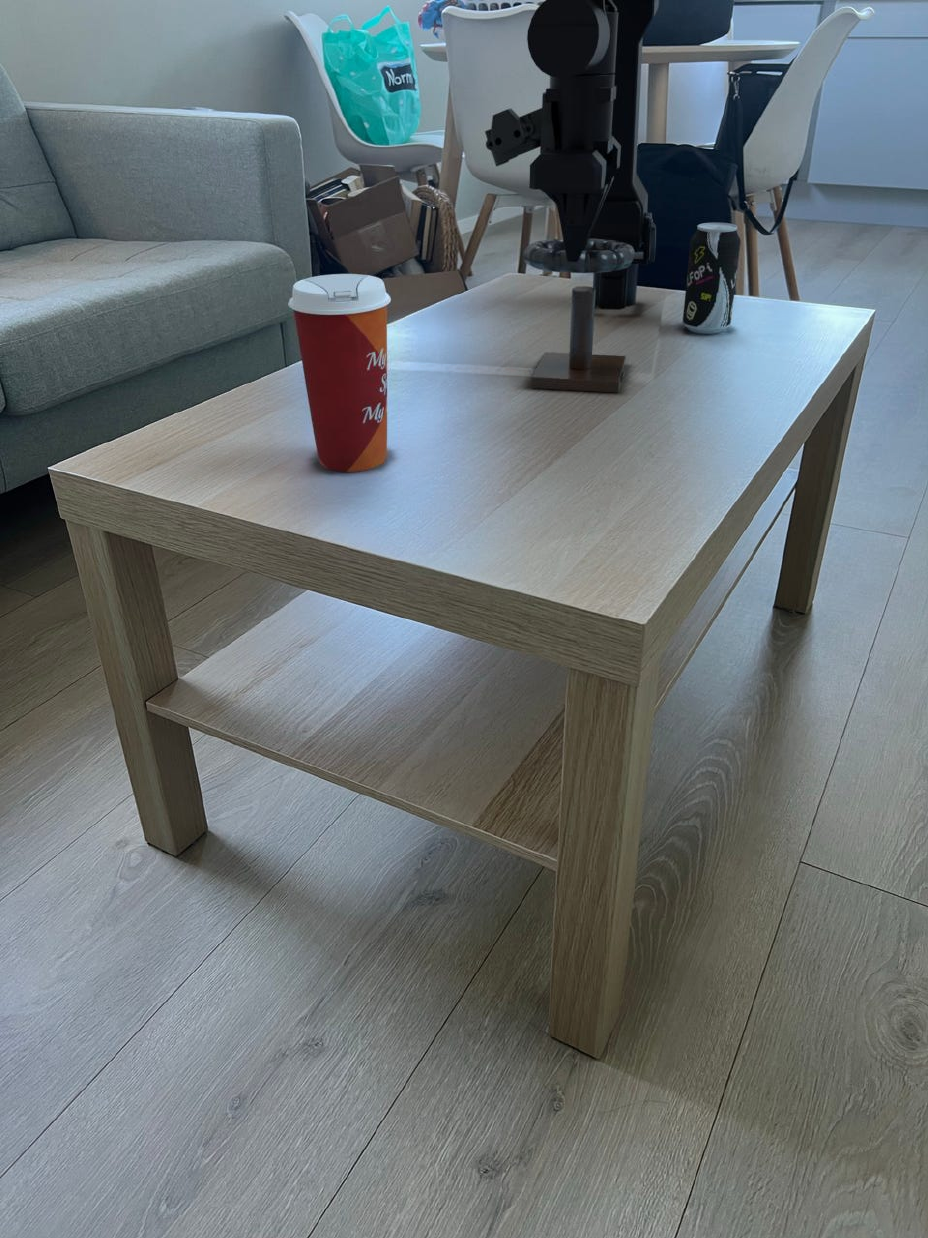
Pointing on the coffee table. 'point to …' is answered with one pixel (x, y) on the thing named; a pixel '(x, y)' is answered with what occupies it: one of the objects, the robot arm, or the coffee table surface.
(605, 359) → the peg stand
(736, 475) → the coffee table surface
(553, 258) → the ring
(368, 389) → the coffee cup
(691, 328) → the beverage can
